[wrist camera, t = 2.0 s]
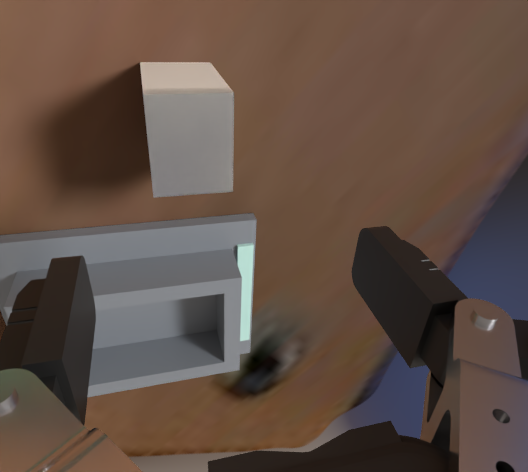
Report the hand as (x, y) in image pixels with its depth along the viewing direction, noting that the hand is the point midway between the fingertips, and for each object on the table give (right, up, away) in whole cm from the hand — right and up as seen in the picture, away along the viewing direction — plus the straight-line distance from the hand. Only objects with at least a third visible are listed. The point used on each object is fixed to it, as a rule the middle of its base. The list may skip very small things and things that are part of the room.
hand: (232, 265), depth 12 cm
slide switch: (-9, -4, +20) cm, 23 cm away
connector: (-4, +9, +13) cm, 17 cm away
